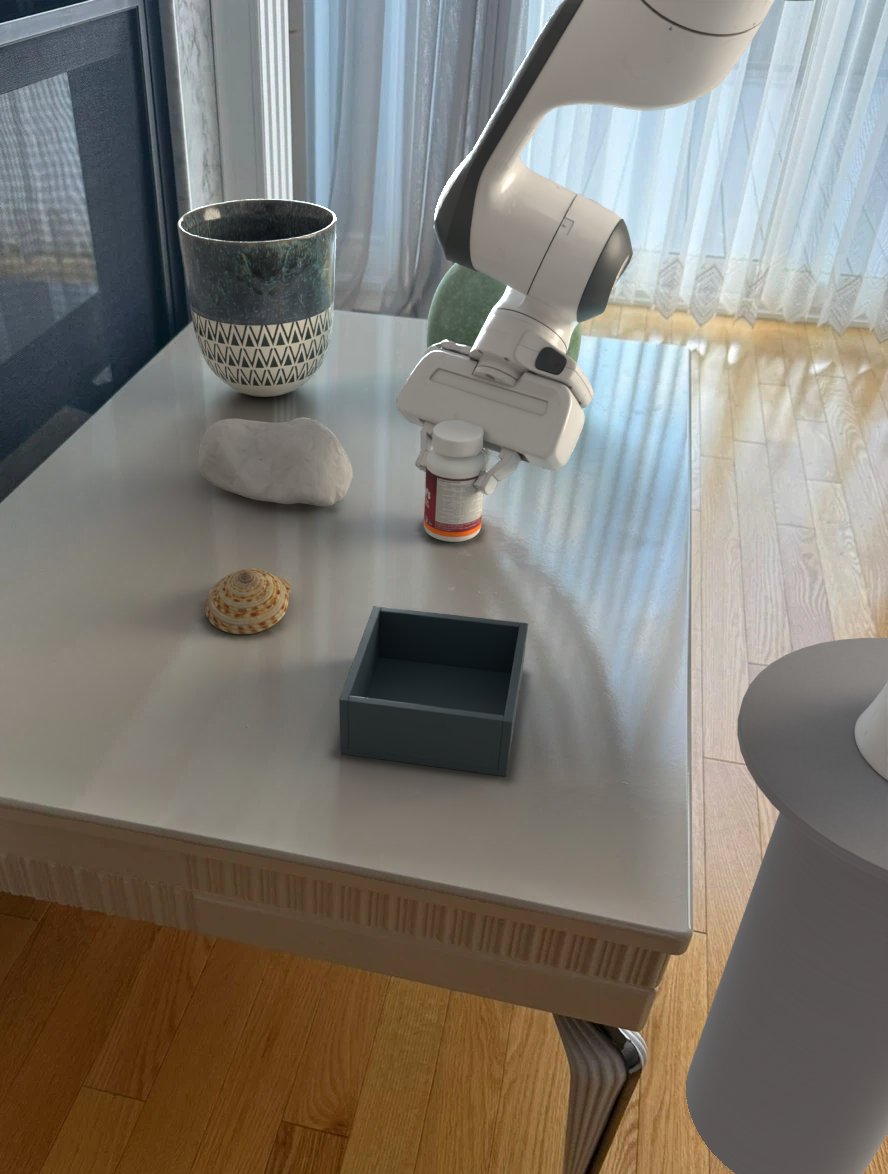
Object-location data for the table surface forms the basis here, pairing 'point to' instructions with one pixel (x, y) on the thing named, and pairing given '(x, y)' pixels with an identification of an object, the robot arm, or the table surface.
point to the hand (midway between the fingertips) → (451, 480)
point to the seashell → (247, 601)
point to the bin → (434, 690)
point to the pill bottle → (454, 481)
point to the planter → (261, 290)
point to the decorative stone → (276, 461)
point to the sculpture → (470, 309)
